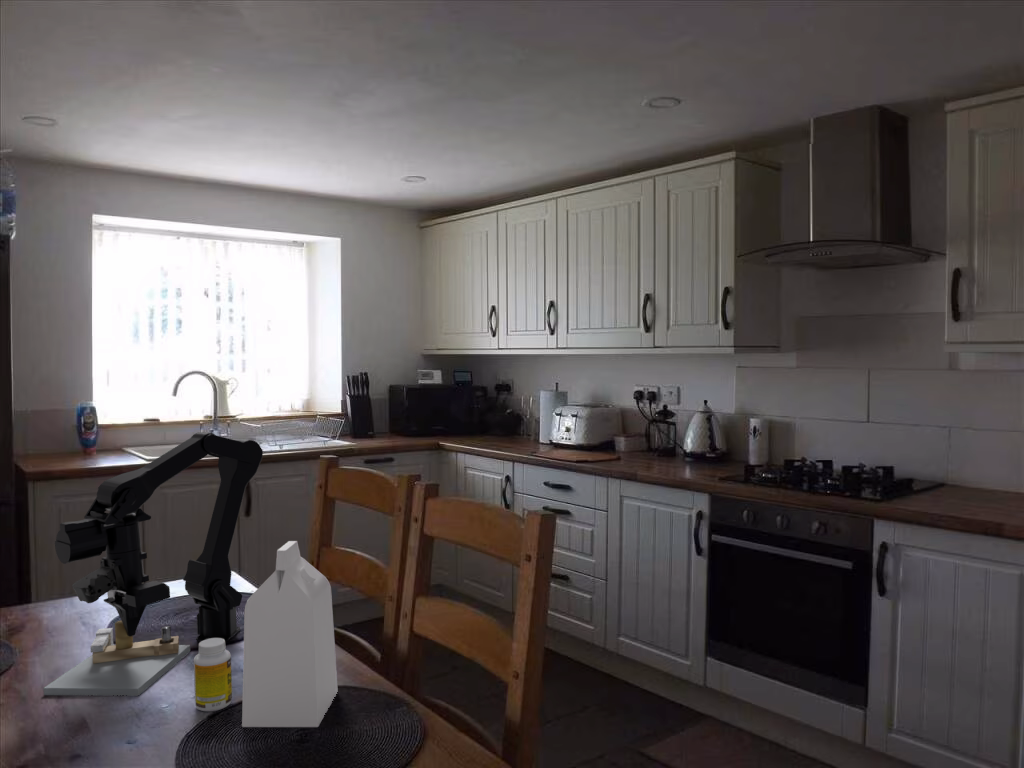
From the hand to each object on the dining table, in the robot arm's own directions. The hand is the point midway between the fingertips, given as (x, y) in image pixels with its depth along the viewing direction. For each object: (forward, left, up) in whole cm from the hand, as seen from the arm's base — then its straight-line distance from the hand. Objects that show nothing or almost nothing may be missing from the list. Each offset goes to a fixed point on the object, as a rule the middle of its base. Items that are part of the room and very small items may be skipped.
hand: (131, 635), depth 143 cm
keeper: (+6, -1, -4) cm, 8 cm away
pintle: (-4, -4, -4) cm, 7 cm away
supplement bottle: (-21, +15, -6) cm, 27 cm away
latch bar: (0, -2, -4) cm, 5 cm away
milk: (-34, +16, -6) cm, 38 cm away
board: (+1, +2, -6) cm, 6 cm away
